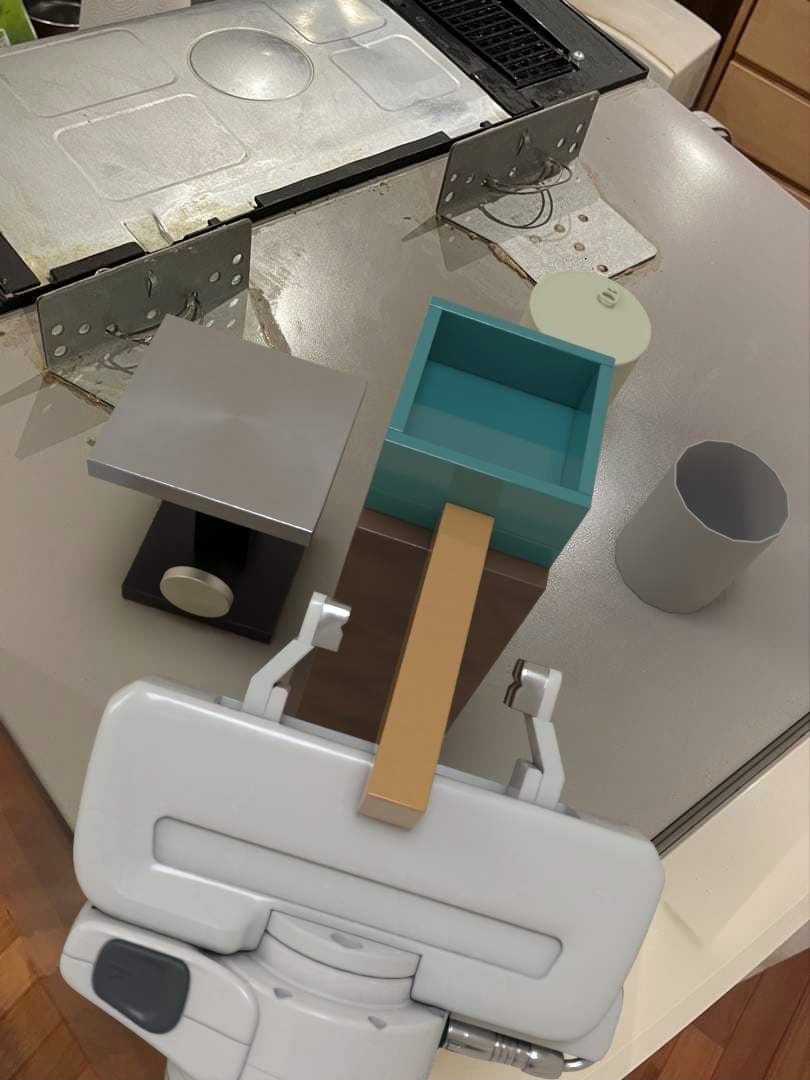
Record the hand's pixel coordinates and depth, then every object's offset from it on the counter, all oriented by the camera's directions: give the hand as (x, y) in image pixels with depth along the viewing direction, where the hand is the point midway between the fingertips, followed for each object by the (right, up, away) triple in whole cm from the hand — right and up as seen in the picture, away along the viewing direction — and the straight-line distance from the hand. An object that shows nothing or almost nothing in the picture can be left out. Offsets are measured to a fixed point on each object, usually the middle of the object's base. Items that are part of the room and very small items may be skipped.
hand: (437, 630), depth 36 cm
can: (+10, +13, +44) cm, 47 cm away
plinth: (-4, -8, +28) cm, 29 cm away
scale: (-14, +2, +31) cm, 34 cm away
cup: (+19, +1, +39) cm, 43 cm away
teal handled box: (0, +2, +3) cm, 4 cm away
